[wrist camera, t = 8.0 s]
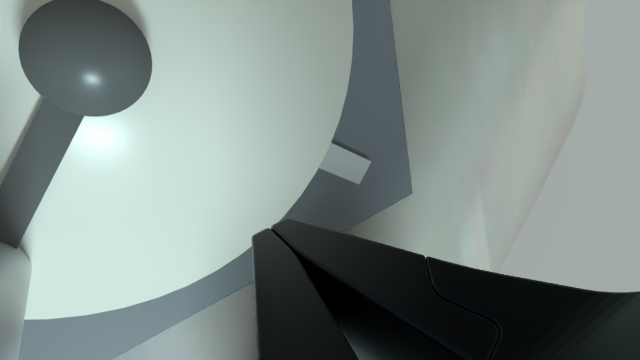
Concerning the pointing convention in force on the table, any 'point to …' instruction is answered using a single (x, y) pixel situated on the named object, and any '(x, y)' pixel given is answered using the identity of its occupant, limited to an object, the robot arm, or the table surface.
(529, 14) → the table surface
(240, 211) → the dial
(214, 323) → the table surface
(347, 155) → the dial board
